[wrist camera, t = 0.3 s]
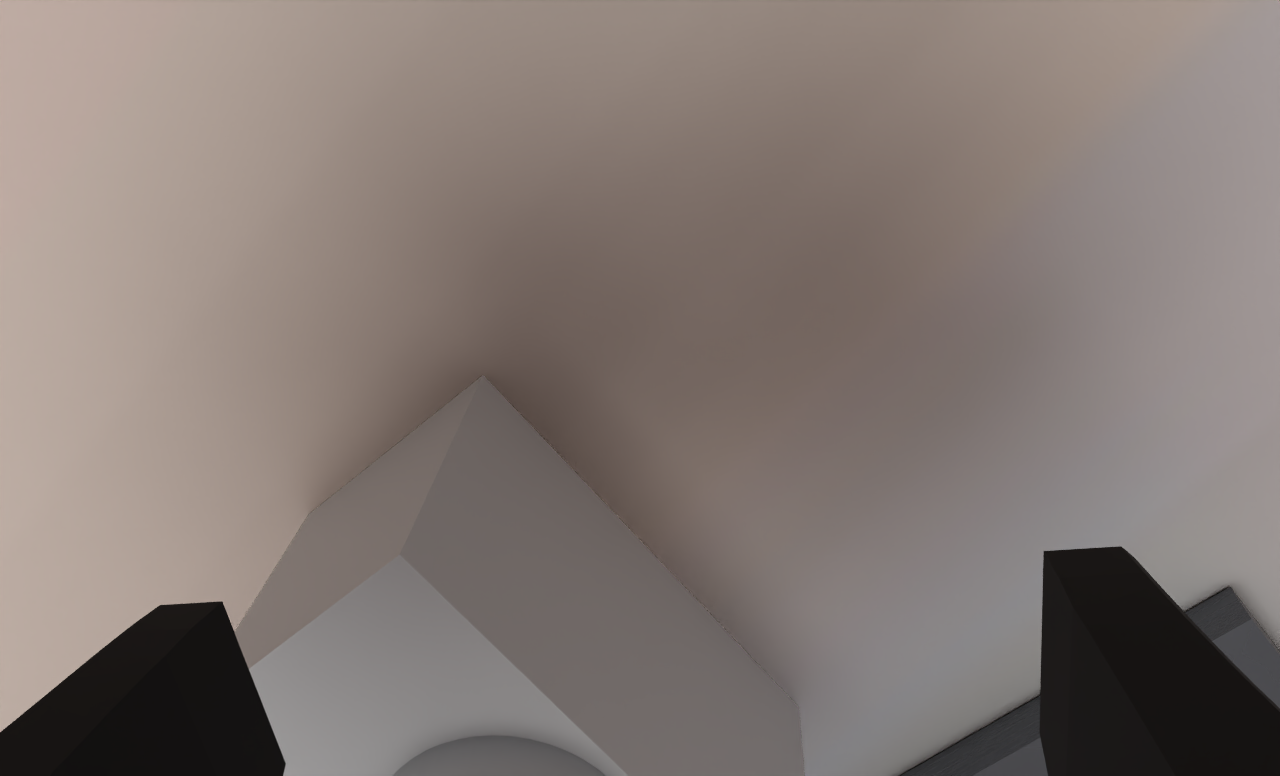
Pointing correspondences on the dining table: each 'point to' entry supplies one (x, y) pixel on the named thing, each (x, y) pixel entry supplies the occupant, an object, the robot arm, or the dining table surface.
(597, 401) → the dining table surface
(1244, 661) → the duct plate
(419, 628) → the grey block
